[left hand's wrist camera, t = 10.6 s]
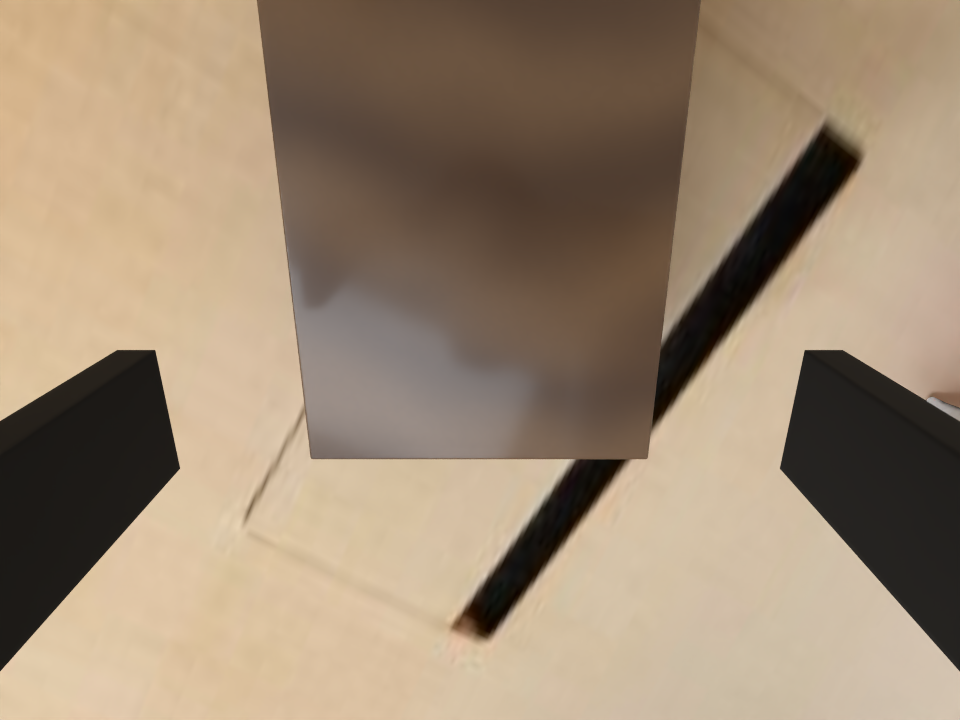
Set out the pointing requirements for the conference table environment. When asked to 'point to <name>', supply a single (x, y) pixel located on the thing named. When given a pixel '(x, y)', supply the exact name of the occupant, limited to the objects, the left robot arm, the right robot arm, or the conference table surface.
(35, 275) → the conference table surface
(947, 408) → the fish
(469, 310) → the cabinet
